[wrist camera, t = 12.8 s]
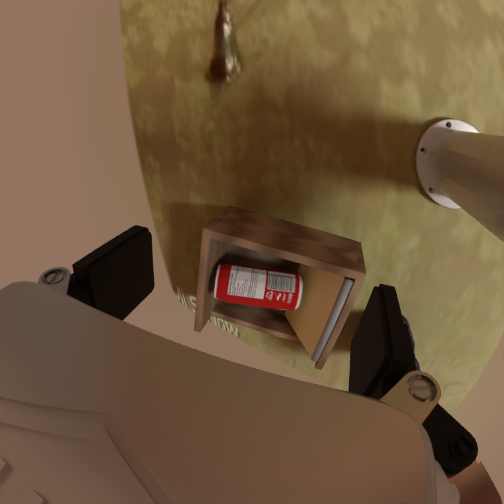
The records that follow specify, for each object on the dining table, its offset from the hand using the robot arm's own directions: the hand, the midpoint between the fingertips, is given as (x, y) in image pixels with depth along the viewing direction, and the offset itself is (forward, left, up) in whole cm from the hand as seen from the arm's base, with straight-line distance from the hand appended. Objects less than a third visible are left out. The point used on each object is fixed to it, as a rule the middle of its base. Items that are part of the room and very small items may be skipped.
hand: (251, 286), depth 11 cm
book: (-6, +17, -25) cm, 31 cm away
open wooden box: (0, +17, -30) cm, 34 cm away
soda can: (-3, +16, -26) cm, 31 cm away
